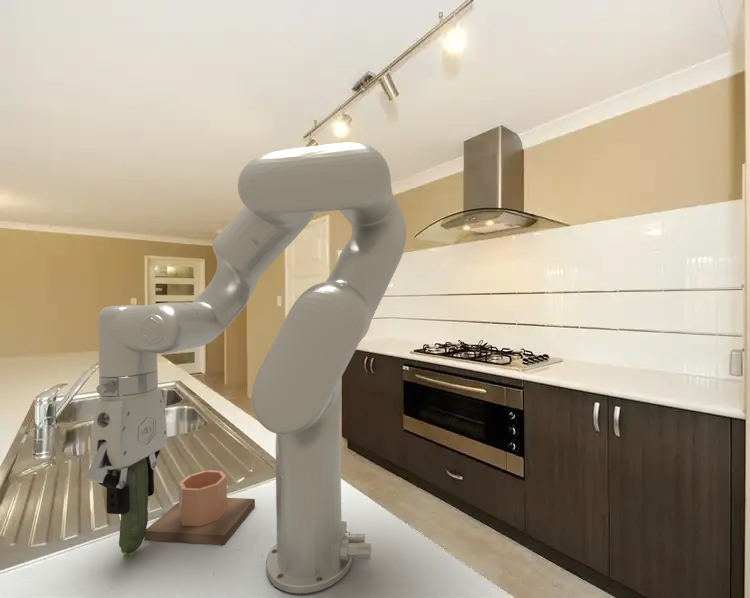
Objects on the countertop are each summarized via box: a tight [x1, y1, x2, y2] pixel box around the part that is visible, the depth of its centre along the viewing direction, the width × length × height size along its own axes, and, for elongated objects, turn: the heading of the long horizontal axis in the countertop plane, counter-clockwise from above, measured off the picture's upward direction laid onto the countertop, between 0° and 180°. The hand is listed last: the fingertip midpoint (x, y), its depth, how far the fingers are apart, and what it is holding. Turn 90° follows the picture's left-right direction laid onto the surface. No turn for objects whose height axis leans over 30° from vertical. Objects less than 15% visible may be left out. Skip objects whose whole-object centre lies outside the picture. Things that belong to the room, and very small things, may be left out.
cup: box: [178, 469, 228, 526], centre depth 65 cm, size 7×7×6 cm
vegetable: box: [113, 458, 149, 558], centre depth 56 cm, size 4×4×20 cm
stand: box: [143, 497, 256, 546], centre depth 65 cm, size 14×11×2 cm
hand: (131, 502), depth 56 cm, fingers closed on vegetable, 4 cm apart
